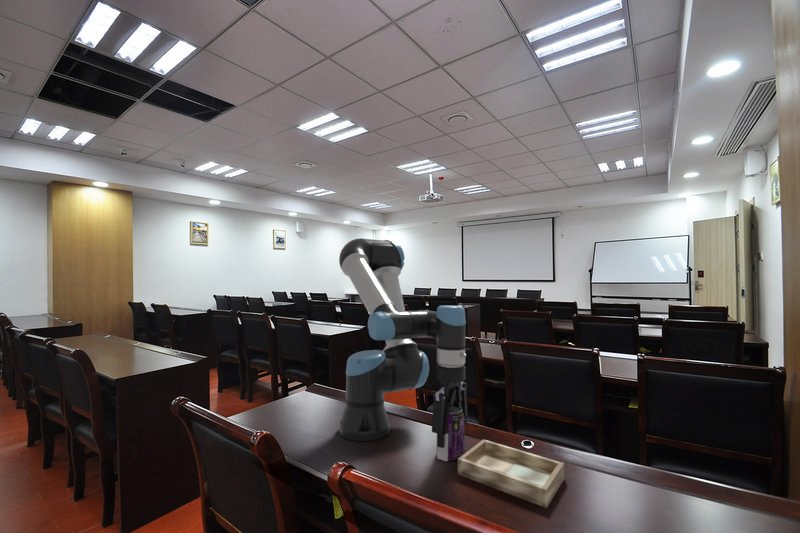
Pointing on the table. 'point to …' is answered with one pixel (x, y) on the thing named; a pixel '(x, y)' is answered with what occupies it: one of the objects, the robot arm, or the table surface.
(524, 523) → the table surface
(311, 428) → the table surface
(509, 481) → the crate
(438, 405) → the robot arm
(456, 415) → the beverage can
